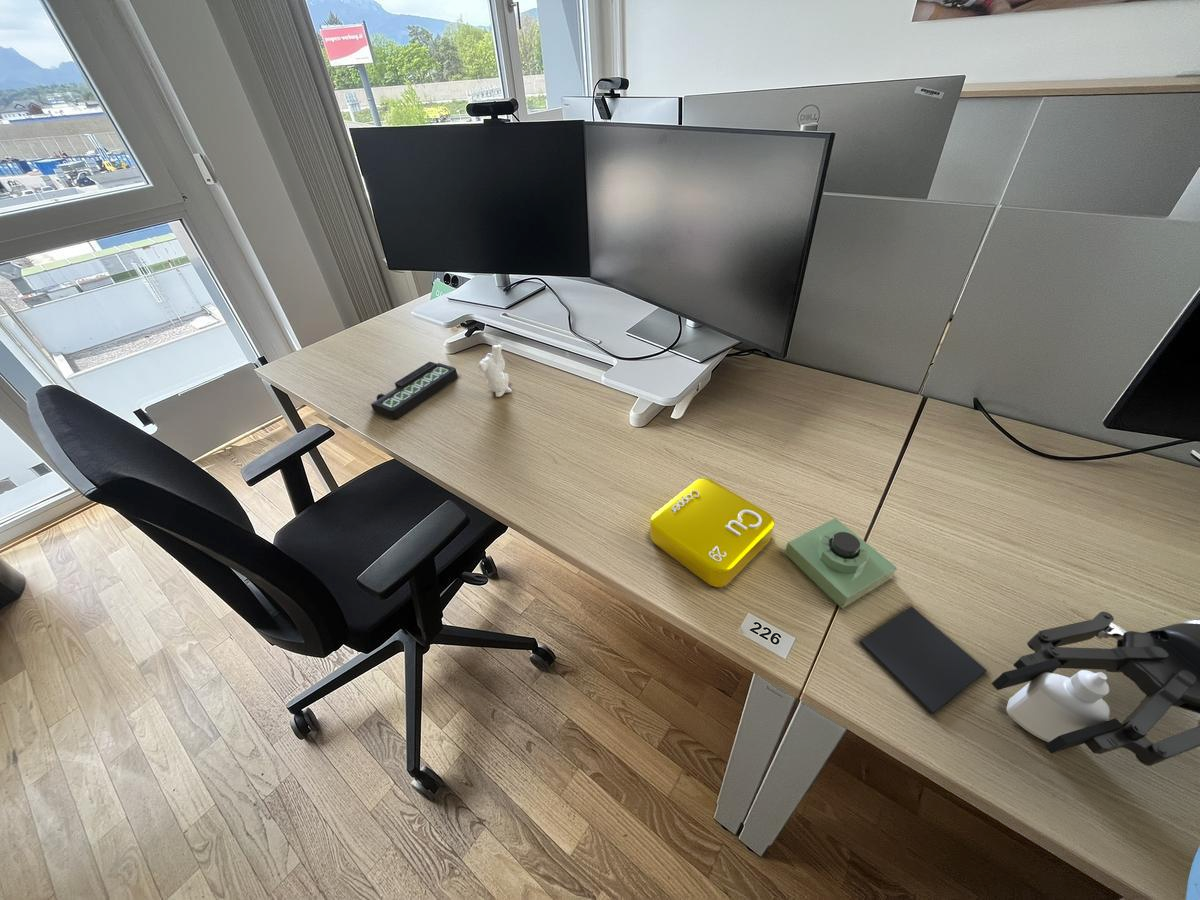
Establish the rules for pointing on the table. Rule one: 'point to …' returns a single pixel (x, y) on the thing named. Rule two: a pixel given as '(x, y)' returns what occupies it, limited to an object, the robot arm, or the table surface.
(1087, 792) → the table surface
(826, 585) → the button housing
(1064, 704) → the eye dropper bottle
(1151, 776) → the table surface
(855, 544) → the black round knob
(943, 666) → the slate mat
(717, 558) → the element tile
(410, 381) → the digital display
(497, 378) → the koala figurine
